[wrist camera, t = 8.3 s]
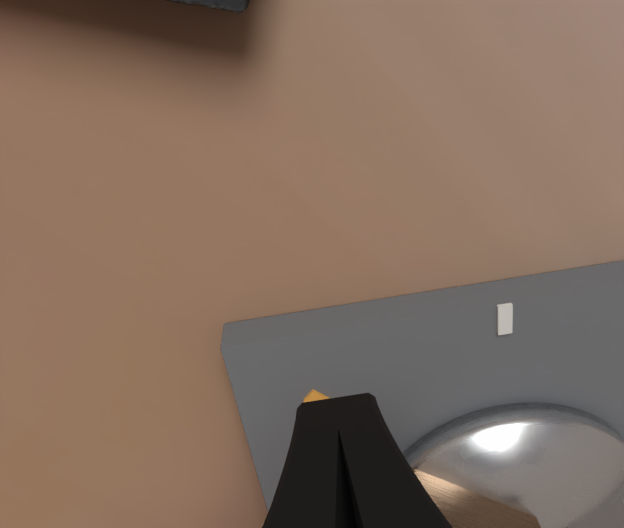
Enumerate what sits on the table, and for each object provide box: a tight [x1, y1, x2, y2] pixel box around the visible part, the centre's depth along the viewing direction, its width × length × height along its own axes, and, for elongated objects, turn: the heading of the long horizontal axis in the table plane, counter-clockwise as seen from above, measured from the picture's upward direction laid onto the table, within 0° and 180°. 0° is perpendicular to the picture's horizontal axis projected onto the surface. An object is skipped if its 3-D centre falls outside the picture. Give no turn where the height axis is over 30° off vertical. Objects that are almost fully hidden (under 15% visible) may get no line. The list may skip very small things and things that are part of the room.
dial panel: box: [221, 261, 624, 512], centre depth 26 cm, size 20×20×2 cm
